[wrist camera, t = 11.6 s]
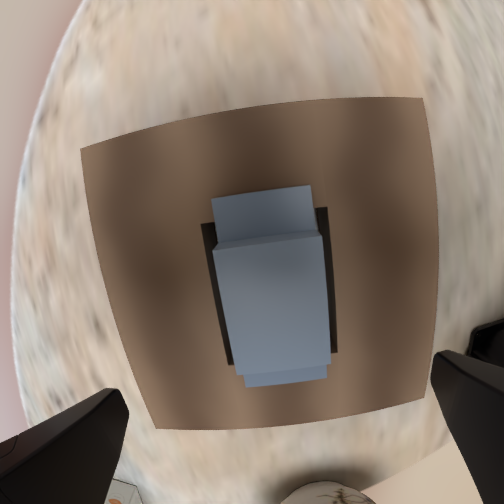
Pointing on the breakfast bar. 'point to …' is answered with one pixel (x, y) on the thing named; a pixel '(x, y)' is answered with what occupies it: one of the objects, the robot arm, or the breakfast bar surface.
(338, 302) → the brown rectangular block
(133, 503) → the small box
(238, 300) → the block
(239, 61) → the breakfast bar surface
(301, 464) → the breakfast bar surface
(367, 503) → the teacup
